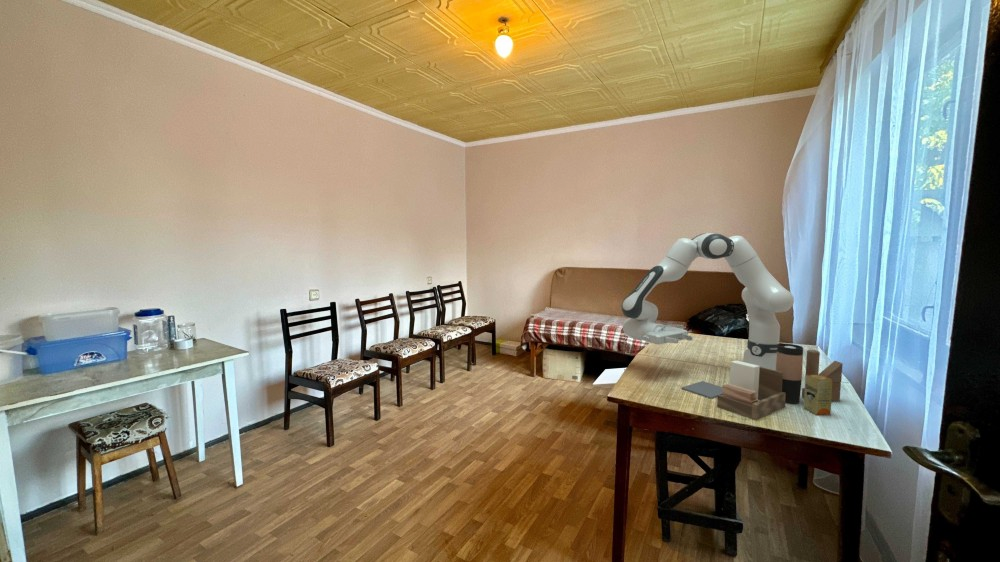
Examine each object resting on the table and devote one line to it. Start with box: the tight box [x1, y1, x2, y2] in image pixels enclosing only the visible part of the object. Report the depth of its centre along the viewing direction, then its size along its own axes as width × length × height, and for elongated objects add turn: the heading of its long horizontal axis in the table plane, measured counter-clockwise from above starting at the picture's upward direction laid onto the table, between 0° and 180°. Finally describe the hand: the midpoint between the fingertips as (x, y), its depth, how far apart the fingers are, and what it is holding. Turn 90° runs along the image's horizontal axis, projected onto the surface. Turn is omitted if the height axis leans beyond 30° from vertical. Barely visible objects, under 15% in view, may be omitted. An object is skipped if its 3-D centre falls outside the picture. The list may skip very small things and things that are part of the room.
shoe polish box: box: [803, 374, 833, 416], centre depth 130 cm, size 5×5×12 cm
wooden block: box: [801, 349, 843, 402], centre depth 141 cm, size 4×11×18 cm, turn 85°
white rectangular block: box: [729, 360, 760, 401], centre depth 139 cm, size 4×8×14 cm, turn 31°
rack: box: [716, 367, 786, 421], centre depth 135 cm, size 20×12×12 cm, turn 121°
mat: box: [681, 380, 723, 399], centre depth 151 cm, size 14×12×1 cm
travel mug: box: [776, 343, 804, 405], centre depth 140 cm, size 8×8×20 cm
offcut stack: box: [721, 383, 759, 405], centre depth 132 cm, size 4×10×8 cm, turn 31°
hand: (684, 340), depth 158 cm, fingers open, 8 cm apart
